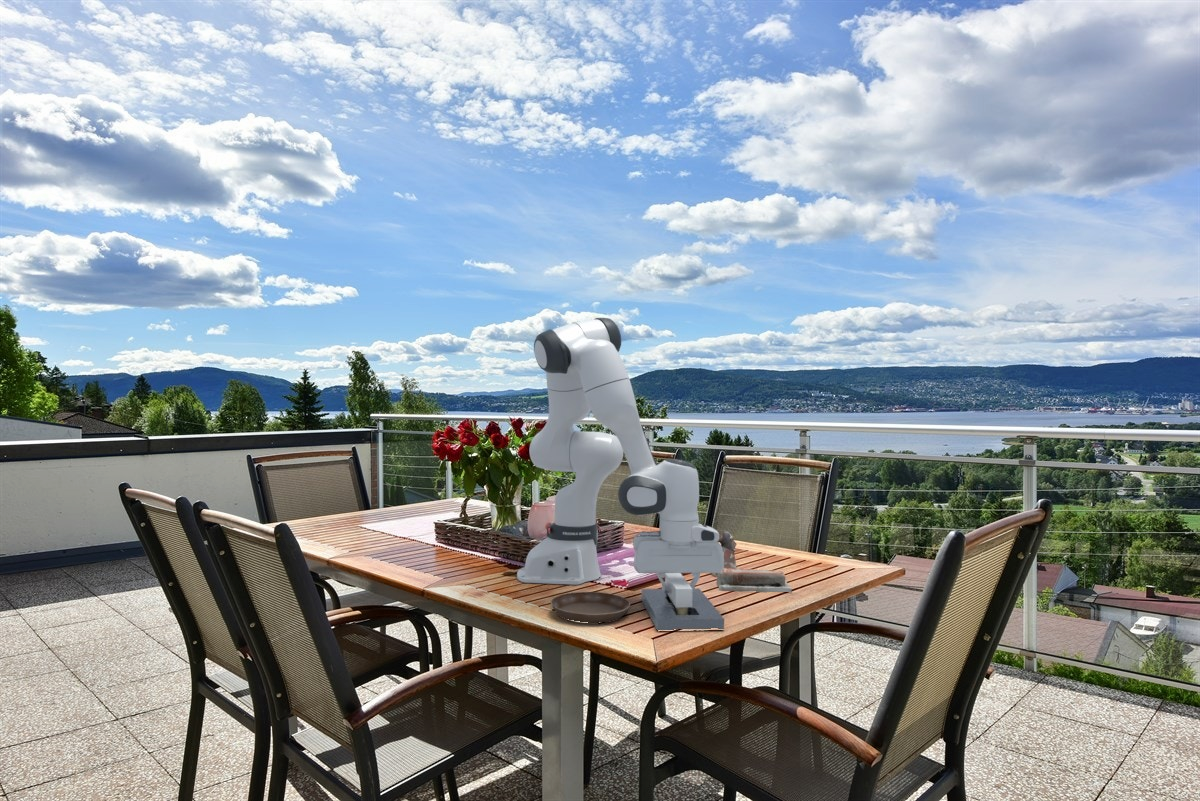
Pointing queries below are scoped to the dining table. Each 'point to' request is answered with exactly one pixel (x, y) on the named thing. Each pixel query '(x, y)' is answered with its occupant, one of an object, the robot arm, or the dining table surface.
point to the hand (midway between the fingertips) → (678, 592)
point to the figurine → (727, 550)
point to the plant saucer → (590, 606)
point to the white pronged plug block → (679, 592)
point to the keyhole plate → (666, 618)
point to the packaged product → (752, 580)
